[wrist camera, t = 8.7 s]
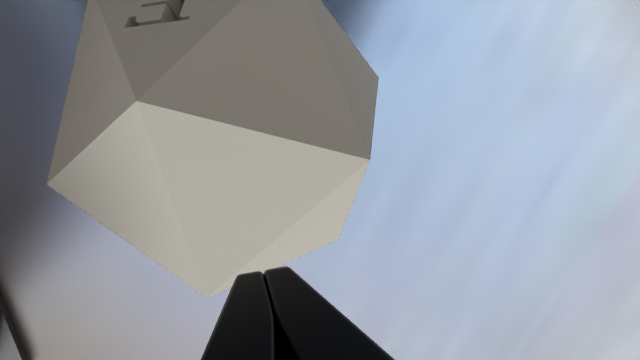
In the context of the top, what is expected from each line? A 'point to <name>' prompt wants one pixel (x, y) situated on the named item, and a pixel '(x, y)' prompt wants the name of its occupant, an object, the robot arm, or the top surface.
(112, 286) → the top surface
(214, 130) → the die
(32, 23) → the top surface
